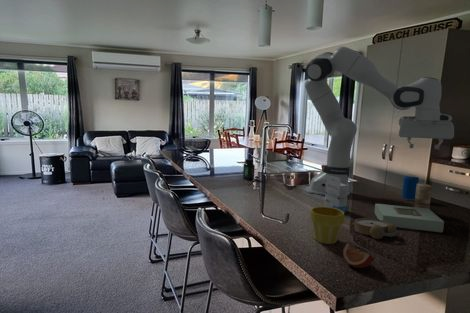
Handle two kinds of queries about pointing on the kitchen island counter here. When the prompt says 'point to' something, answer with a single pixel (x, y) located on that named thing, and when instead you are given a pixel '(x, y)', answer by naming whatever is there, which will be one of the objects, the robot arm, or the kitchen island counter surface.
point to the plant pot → (326, 223)
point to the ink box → (336, 194)
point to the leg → (423, 196)
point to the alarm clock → (375, 228)
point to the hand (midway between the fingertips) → (423, 148)
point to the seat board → (409, 217)
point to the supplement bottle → (248, 170)
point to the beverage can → (409, 187)
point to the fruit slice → (356, 256)
